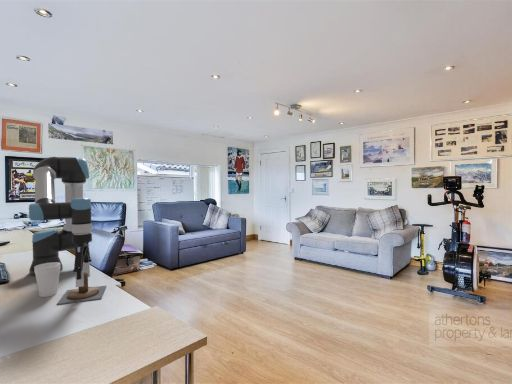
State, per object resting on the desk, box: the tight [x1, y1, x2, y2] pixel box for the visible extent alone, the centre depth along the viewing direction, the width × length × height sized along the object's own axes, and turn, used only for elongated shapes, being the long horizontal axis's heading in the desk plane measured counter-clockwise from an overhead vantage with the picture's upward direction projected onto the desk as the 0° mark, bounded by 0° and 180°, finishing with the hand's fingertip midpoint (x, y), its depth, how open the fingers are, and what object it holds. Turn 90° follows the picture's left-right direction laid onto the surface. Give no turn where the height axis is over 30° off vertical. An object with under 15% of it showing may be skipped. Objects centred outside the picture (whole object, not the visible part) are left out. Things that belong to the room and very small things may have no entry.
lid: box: [67, 272, 99, 299], centre depth 126 cm, size 12×12×9 cm
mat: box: [56, 285, 107, 306], centre depth 126 cm, size 16×16×1 cm
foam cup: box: [34, 262, 61, 298], centre depth 127 cm, size 10×9×13 cm
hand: (83, 281), depth 126 cm, fingers open, 13 cm apart
